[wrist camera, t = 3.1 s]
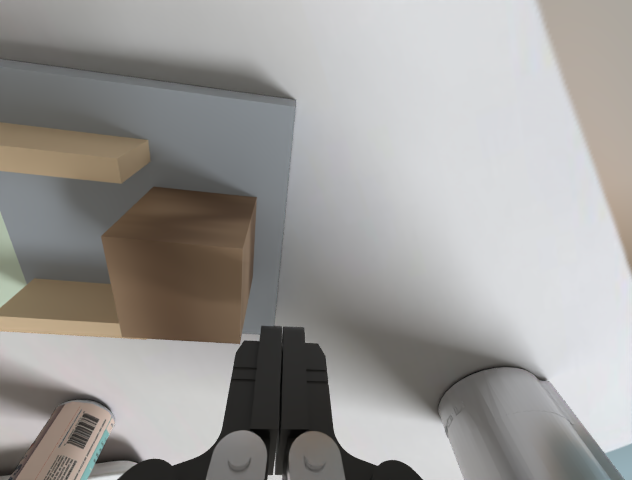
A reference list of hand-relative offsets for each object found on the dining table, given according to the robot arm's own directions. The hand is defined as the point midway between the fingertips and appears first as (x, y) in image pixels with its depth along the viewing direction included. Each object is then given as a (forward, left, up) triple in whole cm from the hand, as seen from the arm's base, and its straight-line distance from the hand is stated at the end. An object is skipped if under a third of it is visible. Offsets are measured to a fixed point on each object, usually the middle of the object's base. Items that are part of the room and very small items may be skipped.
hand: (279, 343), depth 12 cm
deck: (+13, 0, -10) cm, 16 cm away
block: (+4, 0, -7) cm, 8 cm away
